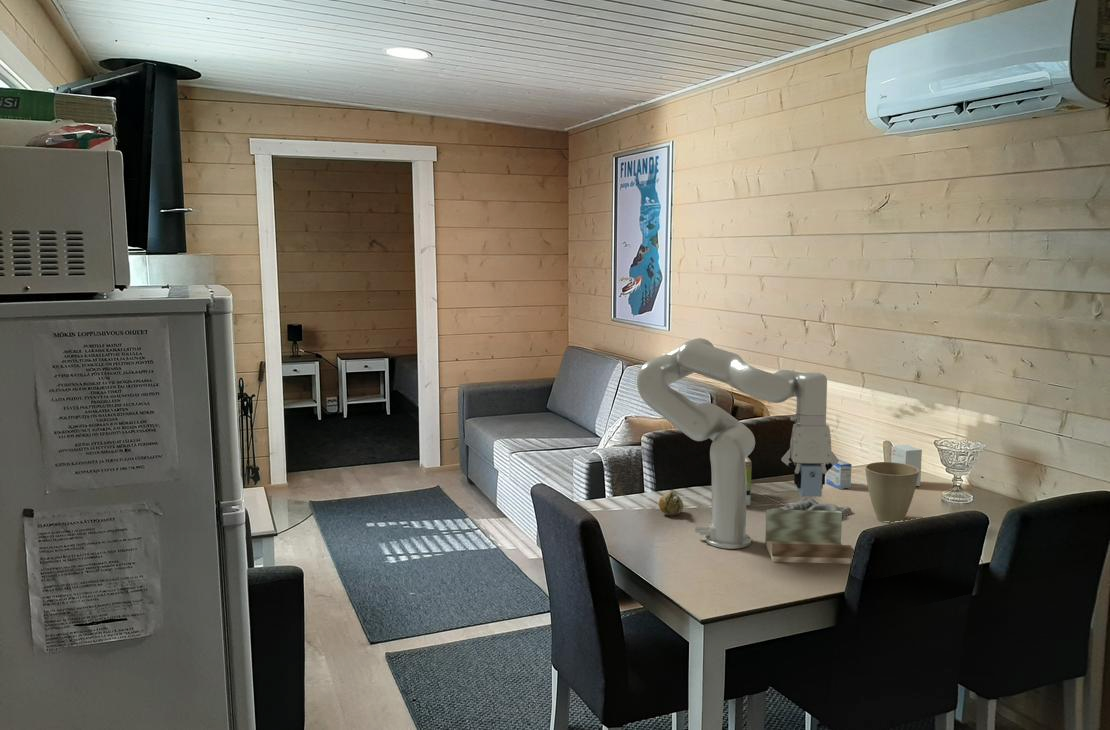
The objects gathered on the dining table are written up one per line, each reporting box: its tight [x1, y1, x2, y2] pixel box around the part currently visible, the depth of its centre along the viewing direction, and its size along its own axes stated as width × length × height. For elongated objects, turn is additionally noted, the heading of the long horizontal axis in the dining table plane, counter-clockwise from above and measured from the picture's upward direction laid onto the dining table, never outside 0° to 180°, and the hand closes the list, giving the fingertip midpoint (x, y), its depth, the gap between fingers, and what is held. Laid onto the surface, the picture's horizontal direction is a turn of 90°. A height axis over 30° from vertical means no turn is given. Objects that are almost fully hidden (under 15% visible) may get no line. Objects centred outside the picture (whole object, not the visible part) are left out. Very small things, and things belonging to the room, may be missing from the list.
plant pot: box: [864, 461, 919, 524], centre depth 247 cm, size 15×15×16 cm
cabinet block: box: [796, 464, 823, 498], centre depth 218 cm, size 5×8×8 cm, turn 174°
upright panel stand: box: [764, 509, 853, 565], centre depth 221 cm, size 20×13×10 cm, turn 84°
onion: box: [658, 490, 684, 516], centre depth 255 cm, size 8×8×8 cm
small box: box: [890, 444, 923, 487], centre depth 283 cm, size 8×6×13 cm
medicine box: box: [825, 458, 853, 490], centre depth 283 cm, size 8×4×9 cm, turn 17°
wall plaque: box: [770, 496, 853, 518], centre depth 252 cm, size 24×19×4 cm
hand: (809, 486), depth 219 cm, fingers closed on cabinet block, 5 cm apart
